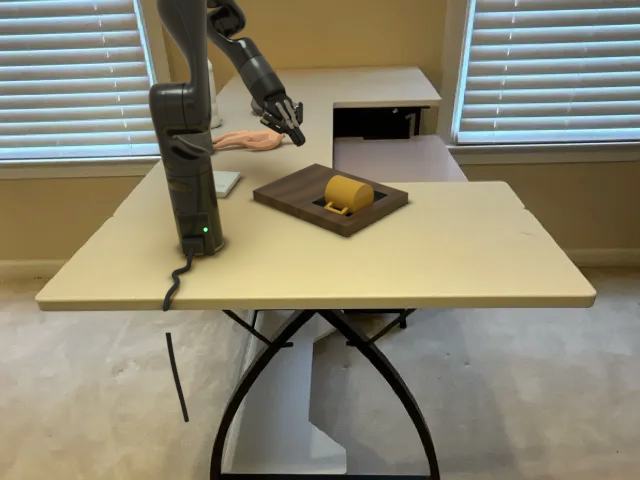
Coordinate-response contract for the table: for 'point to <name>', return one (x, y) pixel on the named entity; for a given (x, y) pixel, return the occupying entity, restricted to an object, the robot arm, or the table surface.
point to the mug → (347, 195)
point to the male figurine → (250, 139)
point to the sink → (322, 203)
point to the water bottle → (213, 99)
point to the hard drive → (225, 181)
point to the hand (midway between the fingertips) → (302, 144)
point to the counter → (311, 184)
